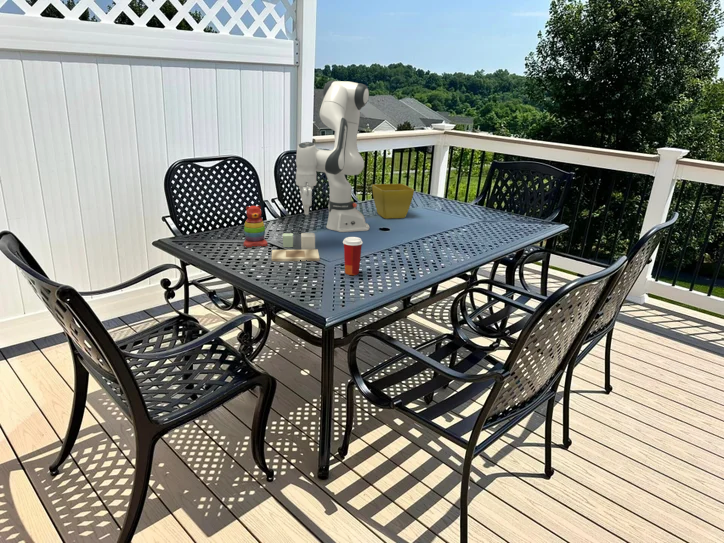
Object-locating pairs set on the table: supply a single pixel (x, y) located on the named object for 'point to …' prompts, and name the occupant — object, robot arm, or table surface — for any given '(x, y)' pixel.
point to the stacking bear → (254, 228)
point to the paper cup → (352, 255)
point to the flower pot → (392, 199)
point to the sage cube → (287, 239)
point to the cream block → (307, 240)
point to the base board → (295, 255)
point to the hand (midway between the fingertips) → (305, 211)
